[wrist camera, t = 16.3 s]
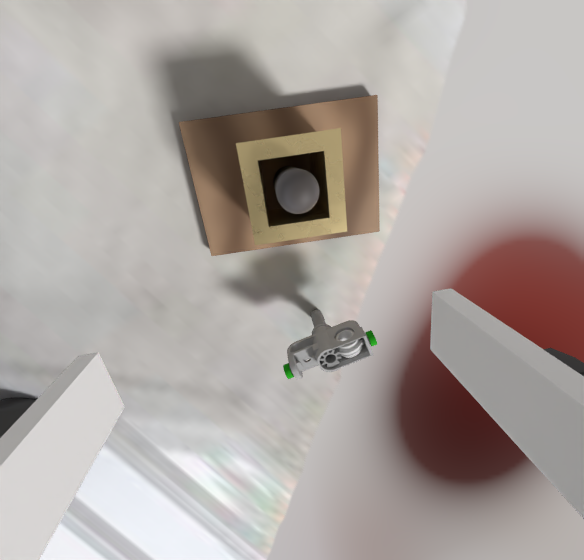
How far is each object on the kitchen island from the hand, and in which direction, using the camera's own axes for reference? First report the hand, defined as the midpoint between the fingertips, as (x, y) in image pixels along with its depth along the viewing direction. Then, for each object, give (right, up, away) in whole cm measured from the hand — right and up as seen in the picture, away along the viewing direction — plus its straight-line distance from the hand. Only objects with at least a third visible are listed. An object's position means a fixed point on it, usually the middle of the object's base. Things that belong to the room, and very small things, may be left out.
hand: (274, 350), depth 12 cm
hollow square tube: (0, +13, +20) cm, 24 cm away
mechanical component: (+4, -2, +29) cm, 29 cm away
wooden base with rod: (0, +14, +22) cm, 26 cm away
